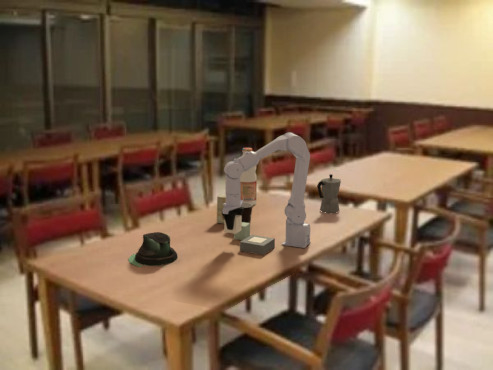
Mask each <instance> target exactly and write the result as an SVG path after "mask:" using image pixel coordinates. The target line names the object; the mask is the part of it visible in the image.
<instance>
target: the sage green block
mask: <svg viewBox="0 0 493 370" xmlns="http://www.w3.org/2000/svg"><path fill="white" fill-rule="evenodd" d="M249 236H251V222H250V223H245V222H242V230H241V231H240V232H238V233H237V234H234V233H233V240H238V241H239V240H240V241H242V240H244V239H246V238H247V237H249Z"/></svg>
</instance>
